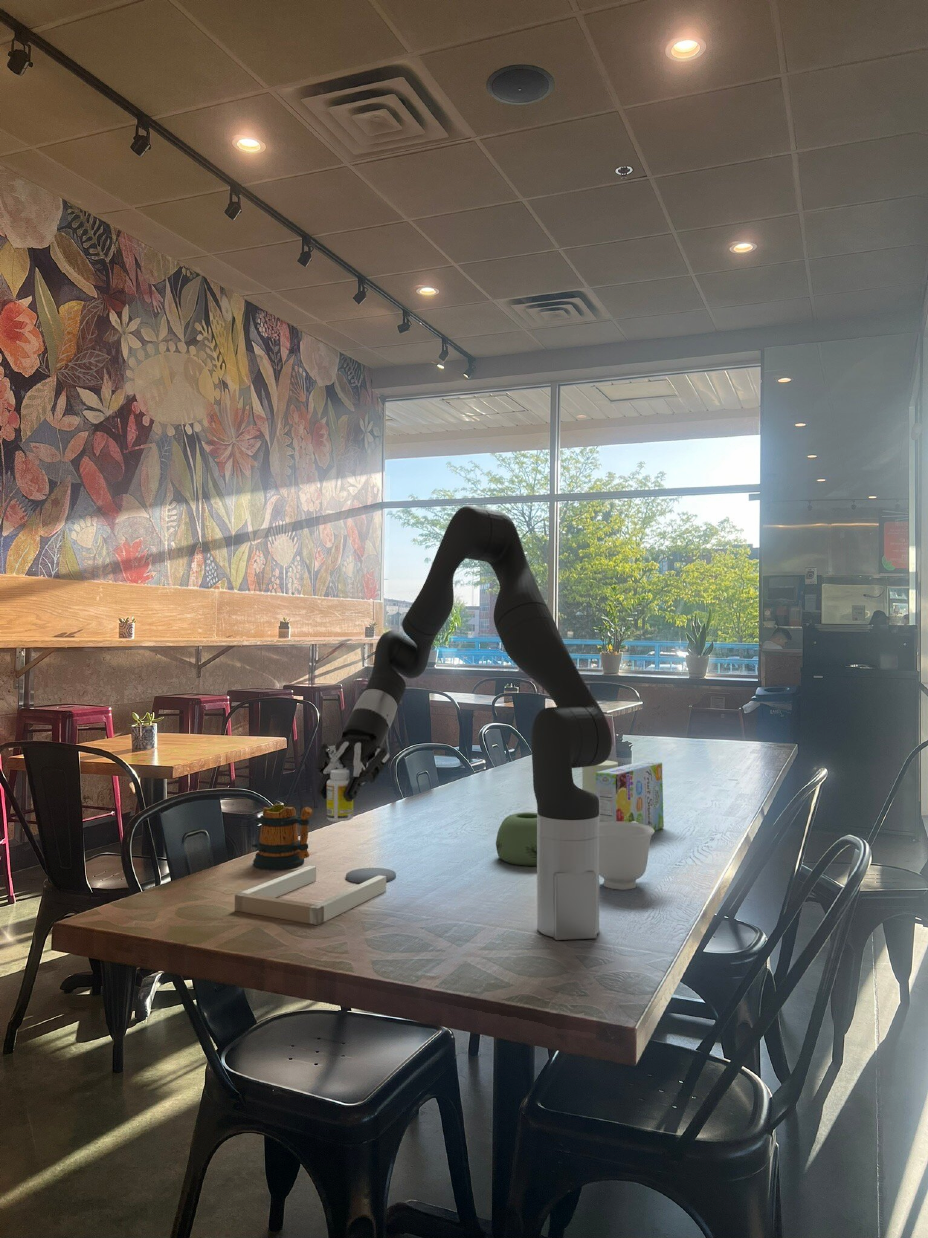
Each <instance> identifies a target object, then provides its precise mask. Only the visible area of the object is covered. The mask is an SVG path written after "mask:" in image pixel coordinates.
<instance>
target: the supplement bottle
mask: <svg viewBox="0 0 928 1238" xmlns="http://www.w3.org/2000/svg"><path fill="white" fill-rule="evenodd" d="M334 769H335V768H334ZM334 769H333V770H331V772H330V776H331V777H330V778H331V779H330V780H328V781H327V798H326V818H327V820H328V821H331V822H346V821H350V820H352V819H353V818H354V799H353V800H352V801H351V802H348V801H346V799H345V798H344V796H343V793H344V791H345V789H346V787H347V785H348V783H349V780H350V776H351V774H350V770H349V769H335V770H334Z"/></svg>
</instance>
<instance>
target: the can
mask: <svg viewBox="0 0 928 1238" xmlns="http://www.w3.org/2000/svg"><path fill="white" fill-rule="evenodd" d="M616 767H619V763H618V761H613V760H606V761H605V762H603V763H602V764H599V765H595V766H589V767H581V769H582V773H581V776H582V780H581V781H582V784H581V785H582V787H581V789H582V790H586V791H589V792H592V793H594V794H595V795H596V772H599V771H604V770H608V769H612V768H616Z"/></svg>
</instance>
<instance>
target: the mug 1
mask: <svg viewBox="0 0 928 1238" xmlns="http://www.w3.org/2000/svg"><path fill="white" fill-rule="evenodd" d="M311 815H313V809H312V808H311V807H309V806H305V807H303V808H302V810H301V813H300V816H299V815H297V814H296V808H295V807H293V806H285V804H281V803H276V804H273V805H272V807H268V806H267V807H265V806H264V807H263V810H262V814H261V815H260V816H259V817H257V818H254V819H253V820H254V822H258V824H261V825H260V833H259V834H260V835H259V840H258V842H257V843H253V844H251V847H253V848H256V850H257V852H256V853H255V856H254V857H255V858H254V859H253V861H252V864H253V867H254V868H255V869H258V870H263V871H285V870H291V869H292V870H293V869H296V868H299V867H301V866H303V865H304V863H305V859H307V858H310V852H309V851H308V849H309V843H308V838H309V825H310V819H309V818H310V817H311ZM298 824H299V825H300V833H298Z"/></svg>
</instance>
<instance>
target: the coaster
mask: <svg viewBox="0 0 928 1238" xmlns="http://www.w3.org/2000/svg"><path fill="white" fill-rule="evenodd" d="M378 875H380V876H386V883H389V882H391V881H394V880H395V879H396V878H397V873H396V872H395V871H394V870H392V869H388V868H383V867H363V868H356V869H352V870H350V871H348V872H347V873H346V874H345V879H346V881H348V882H351V883H354V884H361V883H363V882H365V881H367V880H370V879H372V878H374V877H376V876H378Z"/></svg>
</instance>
